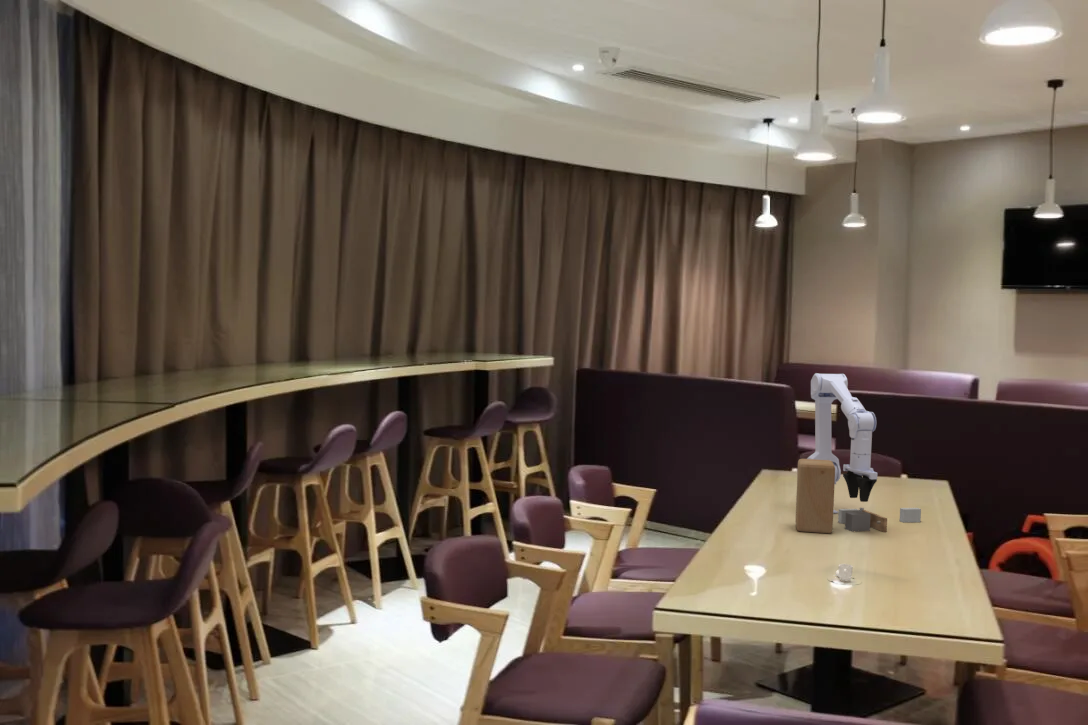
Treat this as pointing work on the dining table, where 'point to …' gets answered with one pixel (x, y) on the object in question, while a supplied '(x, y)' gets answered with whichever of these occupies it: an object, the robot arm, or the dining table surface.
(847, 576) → the teacup and saucer
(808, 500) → the wooden block
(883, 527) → the door
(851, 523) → the grey rectangular block
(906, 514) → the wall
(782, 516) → the dining table surface
